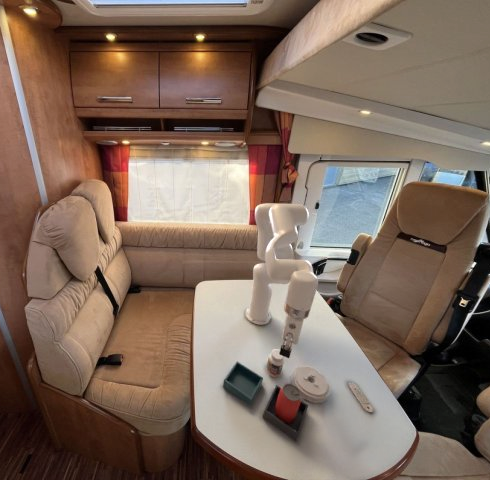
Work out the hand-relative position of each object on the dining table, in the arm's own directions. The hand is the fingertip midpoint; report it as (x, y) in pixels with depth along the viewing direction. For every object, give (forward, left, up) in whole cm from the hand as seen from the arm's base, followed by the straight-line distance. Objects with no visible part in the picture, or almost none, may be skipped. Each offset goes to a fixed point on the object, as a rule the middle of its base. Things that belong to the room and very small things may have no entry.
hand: (286, 345), depth 82 cm
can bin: (+9, +6, -21) cm, 24 cm away
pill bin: (+9, -10, -21) cm, 25 cm away
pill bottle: (-4, -3, -21) cm, 22 cm away
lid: (-6, +10, -21) cm, 24 cm away
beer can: (+9, +6, -21) cm, 23 cm away
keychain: (-14, +26, -21) cm, 36 cm away
